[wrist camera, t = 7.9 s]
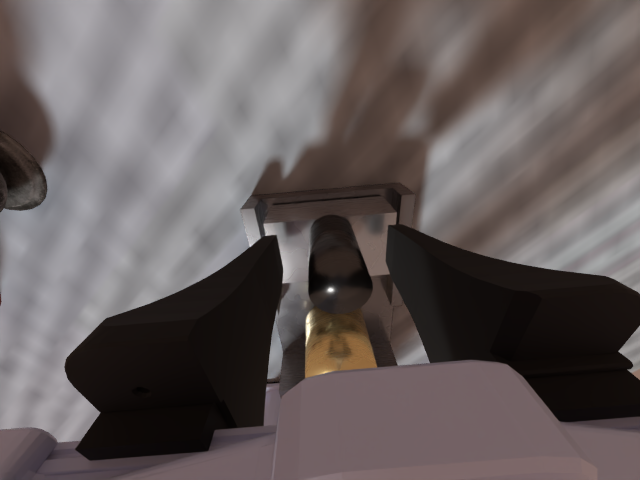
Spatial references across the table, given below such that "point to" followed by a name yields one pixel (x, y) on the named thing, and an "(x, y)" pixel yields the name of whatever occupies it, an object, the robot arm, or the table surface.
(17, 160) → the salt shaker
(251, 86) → the table surface
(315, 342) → the gold bell
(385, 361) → the press frame
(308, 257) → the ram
